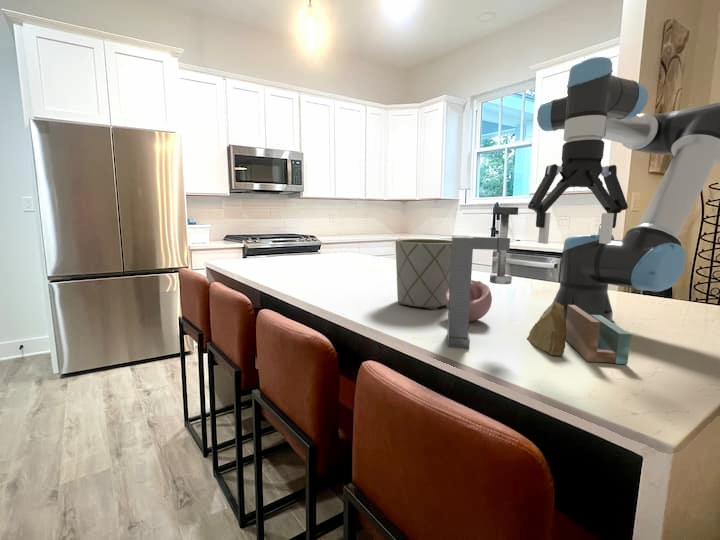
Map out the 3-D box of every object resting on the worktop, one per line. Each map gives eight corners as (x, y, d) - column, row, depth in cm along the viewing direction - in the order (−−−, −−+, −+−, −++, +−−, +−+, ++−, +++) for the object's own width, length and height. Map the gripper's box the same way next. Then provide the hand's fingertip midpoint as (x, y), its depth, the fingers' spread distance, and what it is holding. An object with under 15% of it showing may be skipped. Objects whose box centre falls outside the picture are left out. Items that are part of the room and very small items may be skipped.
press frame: (497, 337, 89) (504, 236, 85) (504, 351, 80) (512, 239, 76) (447, 334, 91) (451, 235, 87) (448, 346, 82) (453, 237, 79)
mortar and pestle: (435, 320, 103) (437, 278, 101) (457, 312, 111) (459, 273, 110) (477, 329, 94) (480, 284, 93) (497, 320, 103) (500, 278, 101)
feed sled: (597, 340, 87) (601, 306, 86) (627, 364, 73) (632, 324, 72) (564, 338, 88) (567, 304, 87) (587, 361, 75) (591, 321, 73)
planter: (441, 314, 109) (444, 244, 106) (383, 305, 119) (384, 241, 116) (463, 301, 124) (466, 240, 122) (410, 294, 135) (411, 238, 132)
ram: (510, 280, 84) (515, 207, 82) (514, 285, 79) (520, 207, 77) (486, 279, 85) (491, 207, 83) (489, 283, 80) (494, 207, 78)
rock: (579, 350, 74) (582, 331, 82) (552, 314, 75) (558, 298, 83) (530, 370, 81) (537, 350, 89) (505, 336, 82) (515, 319, 90)
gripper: (628, 145, 83) (618, 242, 86) (516, 143, 83) (509, 241, 86) (656, 138, 76) (643, 245, 79) (532, 137, 75) (524, 244, 78)
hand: (573, 243), depth 82 cm, fingers open, 13 cm apart
